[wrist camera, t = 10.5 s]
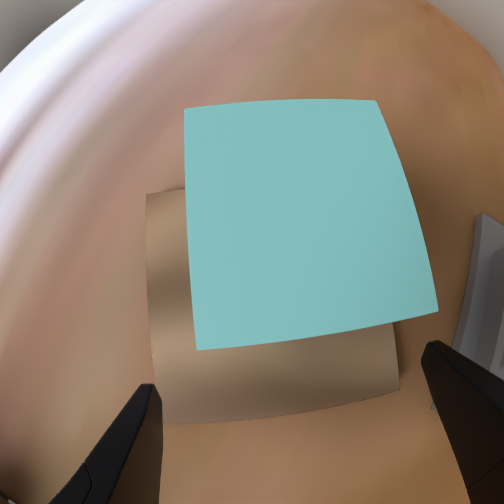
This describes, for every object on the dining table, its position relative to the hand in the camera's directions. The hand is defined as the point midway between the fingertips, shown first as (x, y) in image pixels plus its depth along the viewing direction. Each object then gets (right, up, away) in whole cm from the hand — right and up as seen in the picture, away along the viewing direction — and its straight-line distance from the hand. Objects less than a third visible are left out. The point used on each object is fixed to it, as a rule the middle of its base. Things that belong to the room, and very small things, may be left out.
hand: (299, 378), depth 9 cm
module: (-1, +2, +7) cm, 8 cm away
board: (-1, +1, +8) cm, 9 cm away
